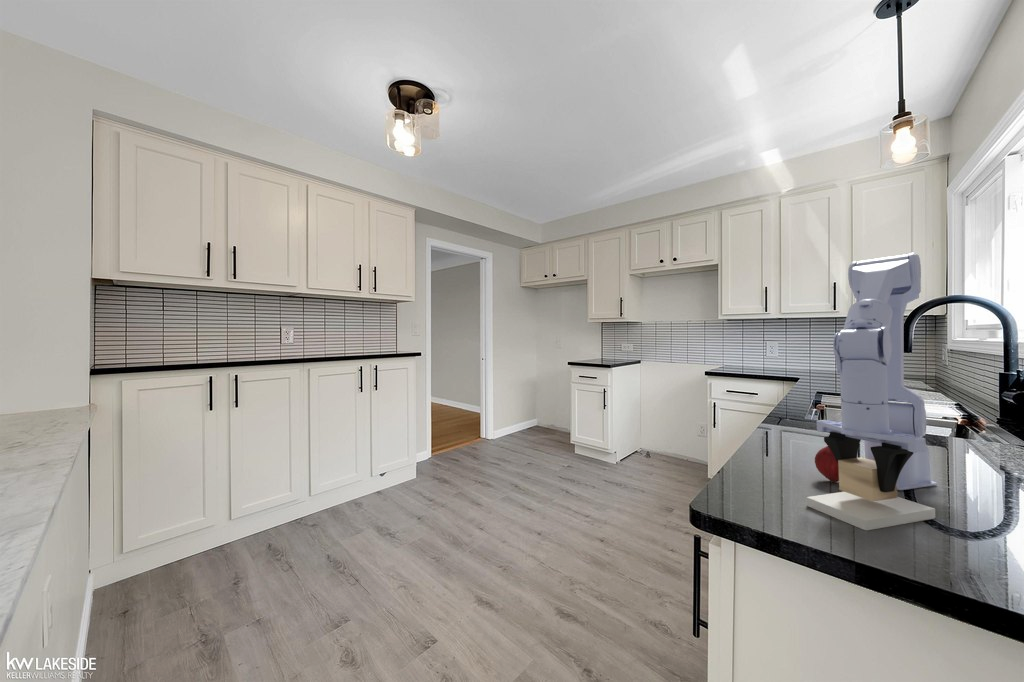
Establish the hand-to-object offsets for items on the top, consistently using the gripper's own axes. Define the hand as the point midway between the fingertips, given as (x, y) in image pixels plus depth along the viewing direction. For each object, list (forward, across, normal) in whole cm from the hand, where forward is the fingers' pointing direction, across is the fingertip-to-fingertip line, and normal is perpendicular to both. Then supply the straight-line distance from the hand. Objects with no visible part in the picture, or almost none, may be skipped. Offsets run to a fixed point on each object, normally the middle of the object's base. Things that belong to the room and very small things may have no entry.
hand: (867, 484), depth 63 cm
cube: (+1, 0, 0) cm, 1 cm away
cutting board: (+4, 0, 0) cm, 4 cm away
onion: (+5, -12, +8) cm, 15 cm away
